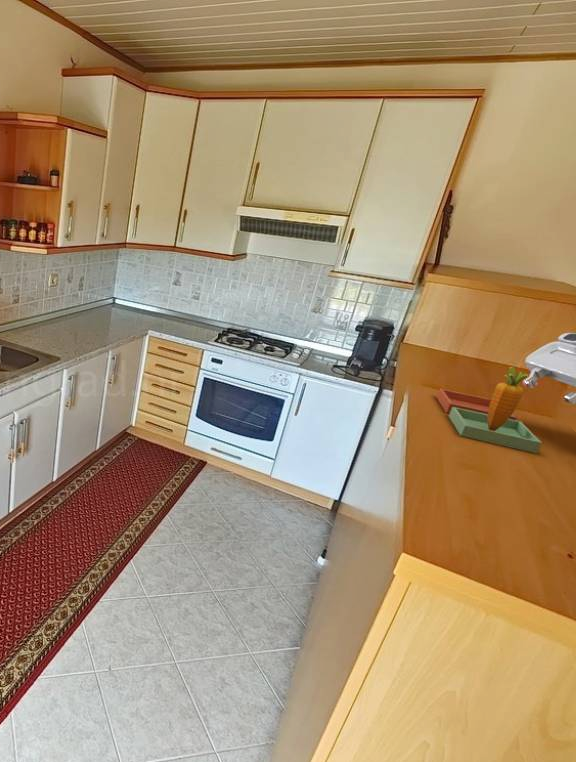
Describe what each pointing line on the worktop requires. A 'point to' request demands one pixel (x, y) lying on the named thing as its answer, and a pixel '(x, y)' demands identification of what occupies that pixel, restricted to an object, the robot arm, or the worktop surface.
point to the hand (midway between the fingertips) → (546, 392)
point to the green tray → (506, 435)
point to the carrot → (505, 400)
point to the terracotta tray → (464, 402)
